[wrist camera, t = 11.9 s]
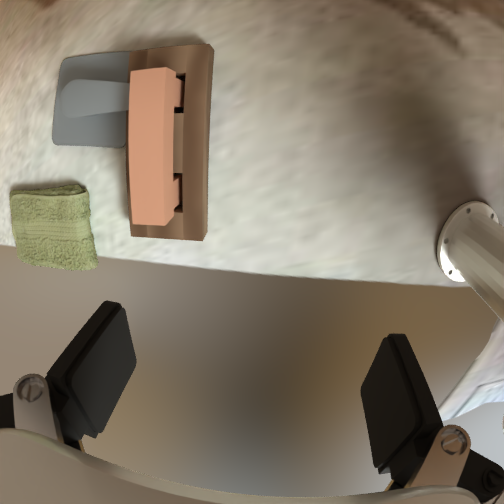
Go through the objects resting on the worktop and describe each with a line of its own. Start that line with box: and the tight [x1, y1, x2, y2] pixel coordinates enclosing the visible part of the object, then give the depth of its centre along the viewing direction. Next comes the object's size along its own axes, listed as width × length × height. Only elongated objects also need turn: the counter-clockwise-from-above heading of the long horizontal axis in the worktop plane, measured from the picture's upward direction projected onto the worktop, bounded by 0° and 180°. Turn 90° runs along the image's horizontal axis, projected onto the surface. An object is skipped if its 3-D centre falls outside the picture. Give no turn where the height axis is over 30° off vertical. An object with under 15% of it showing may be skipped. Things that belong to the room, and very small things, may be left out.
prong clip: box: [129, 67, 185, 226], centre depth 28 cm, size 4×15×8 cm, turn 177°
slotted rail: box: [126, 44, 214, 241], centre depth 30 cm, size 9×22×3 cm, turn 177°
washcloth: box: [10, 184, 98, 271], centre depth 35 cm, size 13×18×3 cm
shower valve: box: [52, 51, 132, 148], centre depth 27 cm, size 12×6×15 cm
